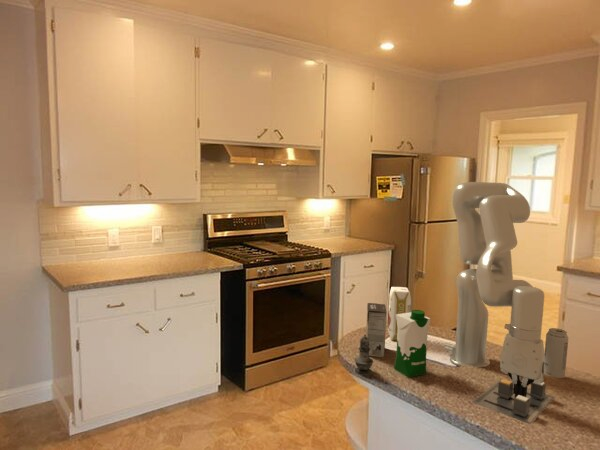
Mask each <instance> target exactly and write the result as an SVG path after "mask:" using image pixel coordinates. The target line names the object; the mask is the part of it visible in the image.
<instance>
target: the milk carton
mask: <svg viewBox="0 0 600 450" xmlns="http://www.w3.org/2000/svg"><path fill="white" fill-rule="evenodd" d="M425 314H426V312H425V311H424V310H420V309H413V310H410V313H403V314H396V319H397V326H398V334H397V340H396V355H395V362H394V370H395V371H397V372H399V373H401V374H402V375H404V376H406V377H407V378H412V377H413V378H414V377H418V376H421V375H427V347H428V346H427V345H428V335H429V334H428V331H429V327H430V324H431V320H432V319H431V318H430V317H428V316H425Z"/></svg>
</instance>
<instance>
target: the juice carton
mask: <svg viewBox="0 0 600 450" xmlns="http://www.w3.org/2000/svg"><path fill="white" fill-rule="evenodd" d="M388 295H389V297H388V314H387V315H388V317H387V318H388V319H387V330H388V335H389V340H390V341H397V334H398V326H397V319H396V314H403V313H410V312H411V311H412V310H411V309H412V296H411V292H410V290H409V289H408V287H405V286H404V287H403V286H391V288H390V291H389V294H388Z"/></svg>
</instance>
